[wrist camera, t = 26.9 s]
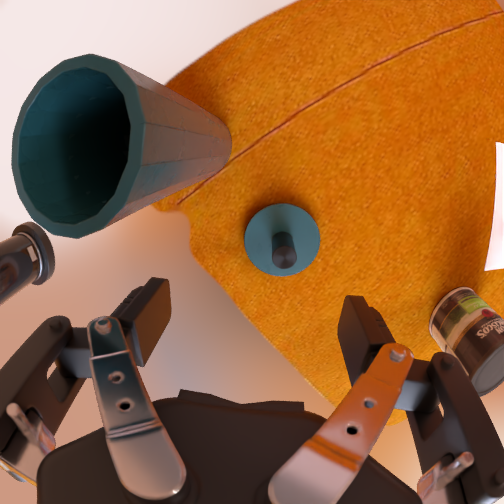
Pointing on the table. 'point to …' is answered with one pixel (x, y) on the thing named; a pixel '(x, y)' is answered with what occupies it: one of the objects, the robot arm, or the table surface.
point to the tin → (108, 145)
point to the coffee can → (471, 337)
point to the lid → (282, 239)
